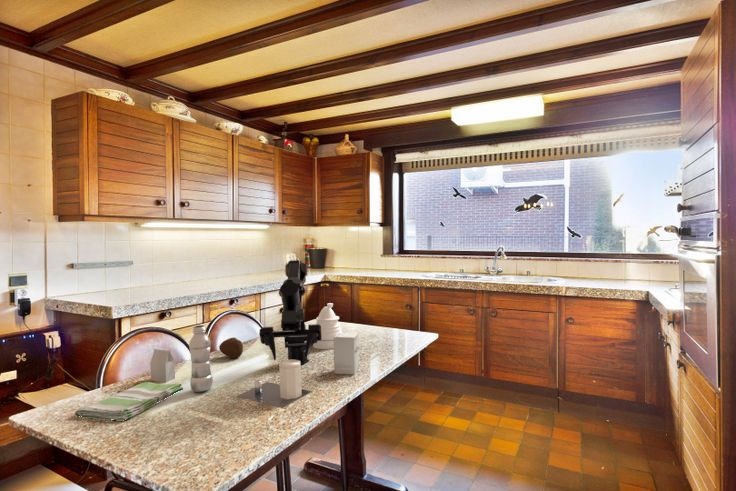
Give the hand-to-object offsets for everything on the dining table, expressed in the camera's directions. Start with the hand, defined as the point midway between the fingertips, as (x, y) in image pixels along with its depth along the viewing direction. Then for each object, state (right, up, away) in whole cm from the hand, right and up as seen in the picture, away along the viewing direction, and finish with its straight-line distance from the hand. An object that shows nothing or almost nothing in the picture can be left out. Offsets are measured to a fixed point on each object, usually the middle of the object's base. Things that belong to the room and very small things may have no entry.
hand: (290, 358), depth 122 cm
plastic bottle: (-29, -12, +5) cm, 31 cm away
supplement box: (+16, -10, +20) cm, 27 cm away
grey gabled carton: (-46, -12, +16) cm, 50 cm away
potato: (-31, -11, +40) cm, 51 cm away
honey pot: (+6, -9, +54) cm, 56 cm away
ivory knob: (+1, -10, -3) cm, 10 cm away
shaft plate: (-4, -11, -1) cm, 12 cm away
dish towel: (-46, -13, -3) cm, 47 cm away
